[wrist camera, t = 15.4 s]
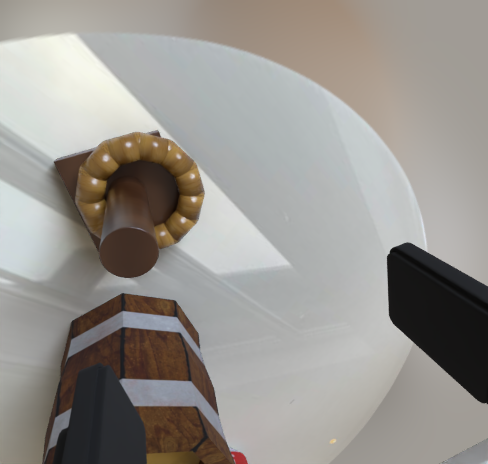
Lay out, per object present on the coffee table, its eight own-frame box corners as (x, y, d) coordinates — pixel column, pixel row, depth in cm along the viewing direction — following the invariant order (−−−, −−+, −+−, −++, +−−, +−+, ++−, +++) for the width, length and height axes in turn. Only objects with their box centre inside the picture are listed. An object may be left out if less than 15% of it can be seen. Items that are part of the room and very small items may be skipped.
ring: (180, 117, 26) (184, 119, 25) (213, 224, 31) (218, 232, 29) (54, 153, 25) (49, 158, 23) (108, 261, 29) (107, 272, 27)
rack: (157, 129, 27) (179, 158, 17) (186, 216, 31) (220, 285, 20) (56, 158, 26) (9, 210, 15) (99, 246, 29) (85, 337, 19)
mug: (117, 267, 31) (112, 402, 18) (223, 327, 37) (277, 459, 24) (-10, 417, 33) (-100, 640, 19) (112, 450, 39) (106, 633, 26)
